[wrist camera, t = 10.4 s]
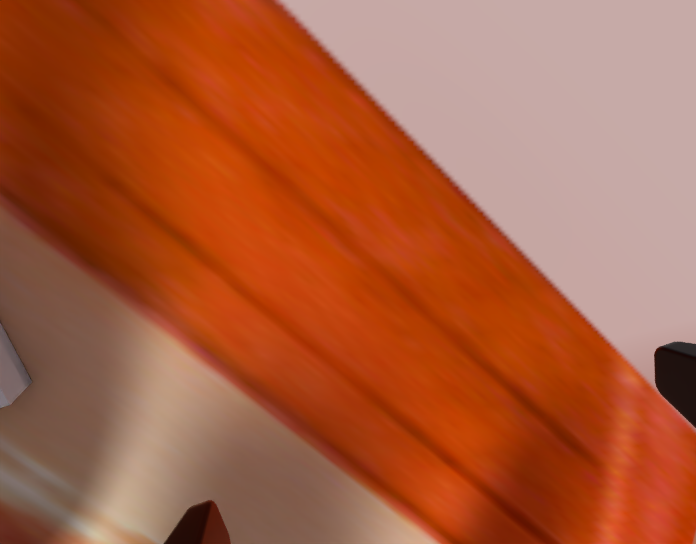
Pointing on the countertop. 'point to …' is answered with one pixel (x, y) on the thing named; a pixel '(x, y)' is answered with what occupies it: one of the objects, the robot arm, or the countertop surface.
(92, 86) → the countertop surface
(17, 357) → the tray
